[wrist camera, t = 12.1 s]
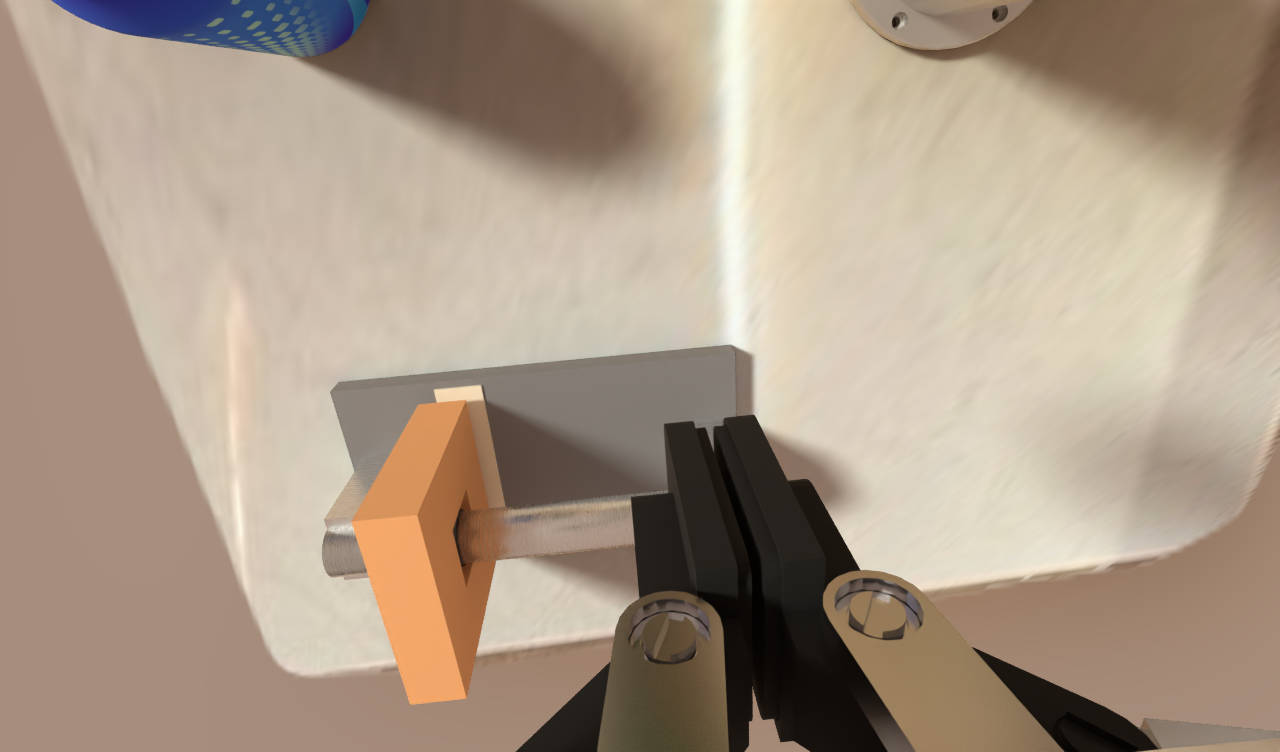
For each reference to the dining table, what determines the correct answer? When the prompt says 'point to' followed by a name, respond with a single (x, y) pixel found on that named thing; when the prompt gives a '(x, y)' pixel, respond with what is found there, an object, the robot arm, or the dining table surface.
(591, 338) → the dining table surface
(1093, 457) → the dining table surface
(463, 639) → the collar
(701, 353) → the base board
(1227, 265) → the dining table surface
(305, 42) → the beer can
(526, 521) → the pipe
